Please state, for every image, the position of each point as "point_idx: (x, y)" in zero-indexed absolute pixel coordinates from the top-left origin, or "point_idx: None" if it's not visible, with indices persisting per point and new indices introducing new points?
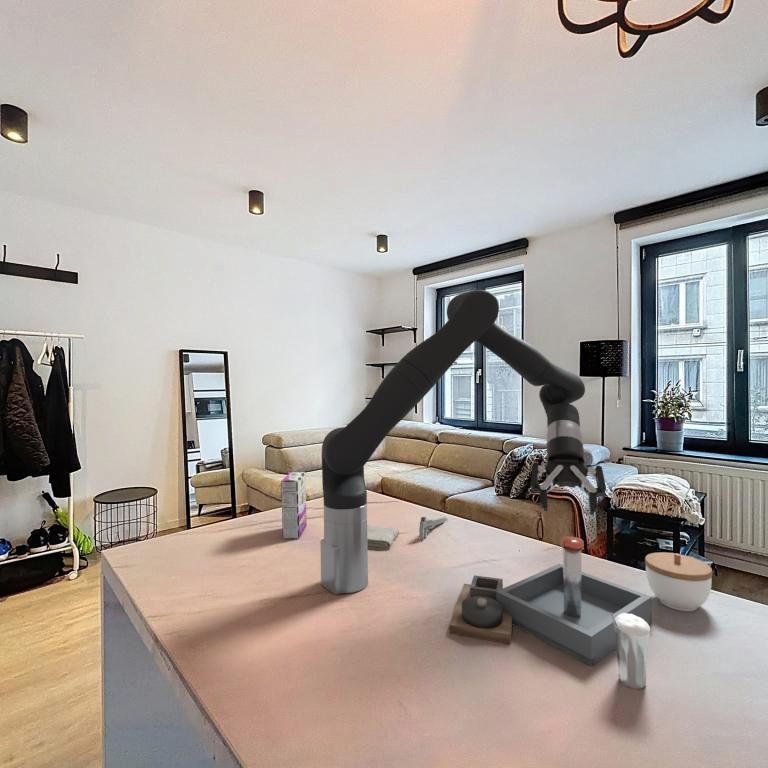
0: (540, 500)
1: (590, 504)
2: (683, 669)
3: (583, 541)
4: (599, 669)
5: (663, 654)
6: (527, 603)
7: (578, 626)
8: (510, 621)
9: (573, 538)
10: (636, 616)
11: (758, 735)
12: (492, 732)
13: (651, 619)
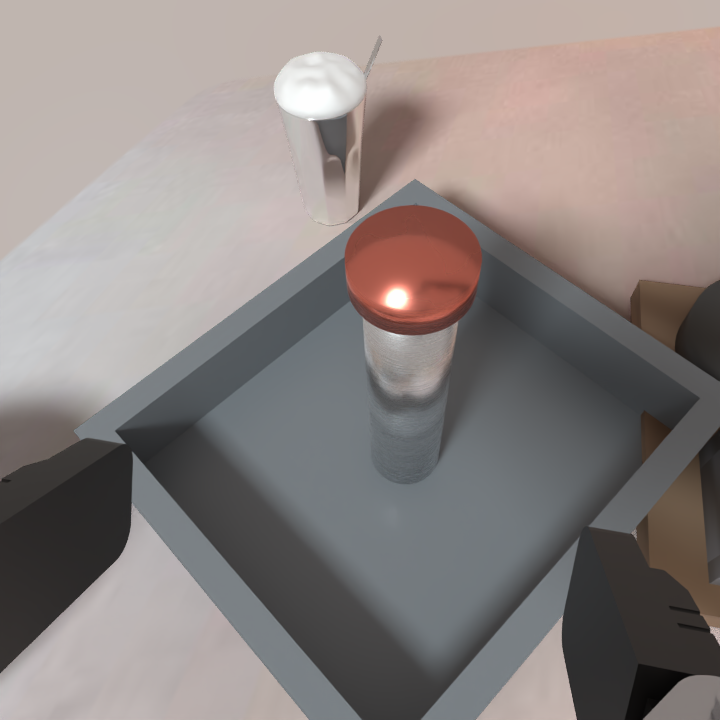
0: (692, 609)
1: (92, 459)
2: (179, 258)
3: (348, 242)
4: None
5: (192, 307)
6: (602, 320)
7: None
8: None
9: (396, 278)
10: (296, 83)
11: (169, 120)
12: (641, 73)
13: None
